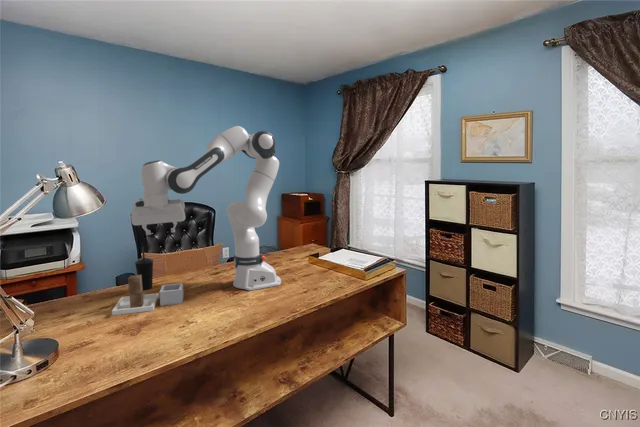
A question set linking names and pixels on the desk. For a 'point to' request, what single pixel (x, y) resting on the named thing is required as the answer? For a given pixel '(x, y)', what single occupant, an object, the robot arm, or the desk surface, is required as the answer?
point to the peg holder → (171, 294)
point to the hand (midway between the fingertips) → (161, 233)
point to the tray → (125, 308)
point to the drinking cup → (145, 271)
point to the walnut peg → (135, 291)
